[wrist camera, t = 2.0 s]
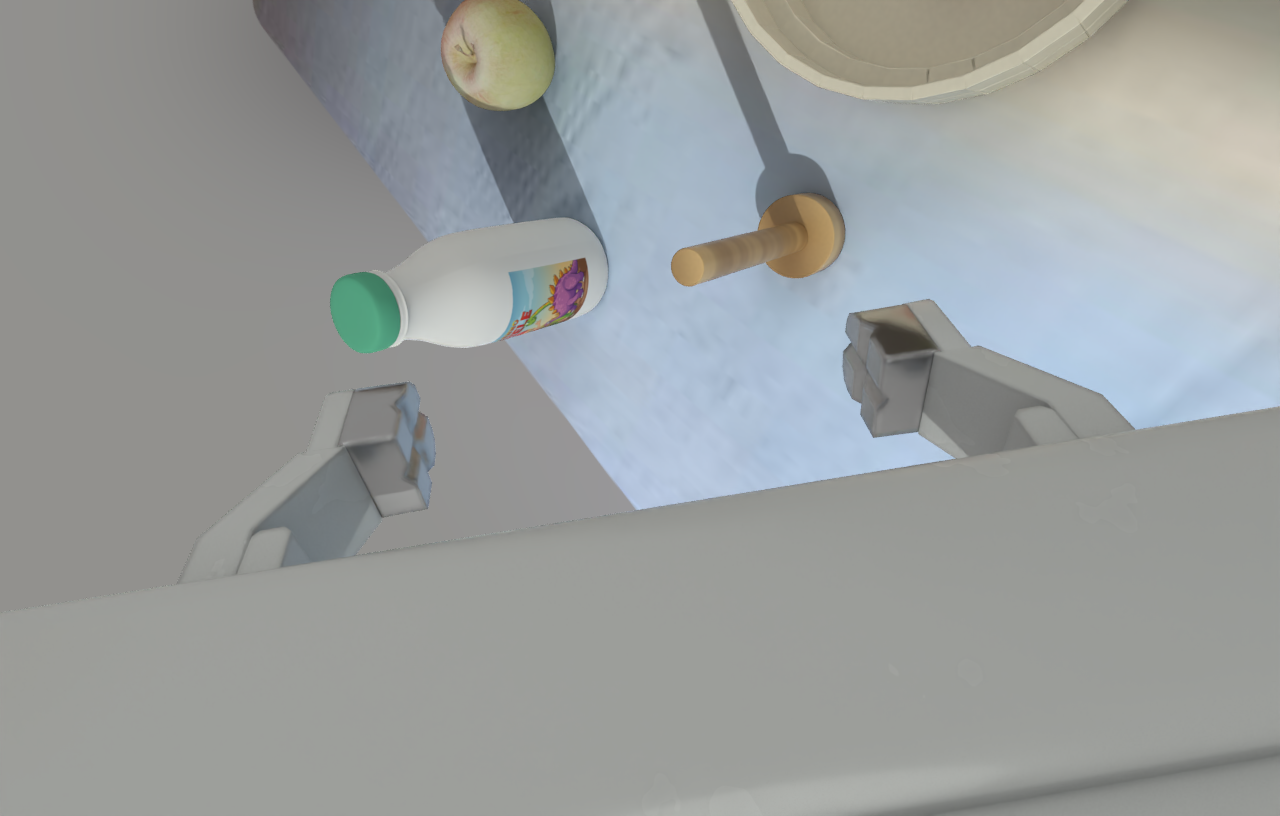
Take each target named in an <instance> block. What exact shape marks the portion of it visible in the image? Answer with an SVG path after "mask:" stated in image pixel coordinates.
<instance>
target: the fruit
mask: <svg viewBox="0 0 1280 816" xmlns="http://www.w3.org/2000/svg"><path fill="white" fill-rule="evenodd" d="M441 57H442V62H443V66H444V69H445V72H446V74H447V76H448V78H449V80H450V82H451V83H452V85H453V86H454V87H455V89H456V90H457V91H458V92H459V93H460V94H461V95H462V96H463V97H464V98H465V99H466V100H468V101H469V102H471V103H472V104H474V105H475V106H478V107H481V108H484V109H488V110H494V111H509V110H516V109H519V108H523V107H526V106H528V105H530V104H531V103H533V102H535V101H536V100H537V99H539V98H540V97H541V96H542V95H543V94H544V93H545V91H546V90H547V88H548V87H549V85H550V83H551V81H552V78H553V75H554V70H555V57H554V51H553V47H552V43H551V39H550V37H549V34H548V32H547V30H546V28H545V26H544V25H543V23H542V22H541V20H540V19H539V18H538V17H537V15H536V14H535V13H534V12H533V11H532V10H531V9H530V8H529V7H528V6H526V5H525V4H524V3H522V2H521V1H519V0H465V1H464V2H462V3H461V4H460V5H459V6H458V7H457V9H456V10H455V11H454V13H453V14H452V15H451V17H450V19H449V20H448V22H447V25H446V27H445V29H444V32H443V35H442V40H441Z"/></svg>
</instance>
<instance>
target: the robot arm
mask: <svg viewBox="0 0 1280 816" xmlns="http://www.w3.org/2000/svg"><path fill="white" fill-rule="evenodd" d="M845 332H846V334H847V336H848V338H849V339H850V341H851V343H850V344H849V345H848V347H847V348H846V349H845V350H844V351H843V374H844V381H845V384H846V387H847V390H848V392H849V394H850V396H851V398H852V399H853V400H855V401H857V402H859V403H861V413H860V415H861V416H862V418H863V420H864V422H865V424H866V426H867V427H868V429H869V431H870V433H871V435H872V436H873V438H875V437H883V436H890V435H898V434H905V433H913V432H918V434H919V435H921V436H922V437H924V438H925V439H927V440H928V441H930V442H931V443H933V444H935V445H936V446H938V447H939V448H941V449H942V450H944V451H945V452H947V453H948V454H950V455H951V456H953V457H954V458H956V459H951V460H945V461H939V462H932V463H926V464H920V465H914V466H908V467H901V468H895V469H889V470H883V471H877V472H870V473H864V474H858V475H852V476H846V477H839V478H833V479H827V480H821V481H815V482H808V483H802V484H796V485H790V486H784V487H777V488H771V489H765V490H759V491H753V492H746V493H740V494H734V495H728V496H722V497H715V498H709V499H703V500H697V501H691V502H684V503H678V504H672V505H666V506H659V507H653V508H647V509H641V510H635V511H629V512H622V513H616V514H610V515H604V516H597V517H591V518H585V519H579V520H572V521H566V522H560V523H554V524H548V525H541V526H535V527H529V528H523V529H517V530H510V531H504V532H499V533H492V534H485V535H479V536H473V537H467V538H461V539H454V540H448V541H442V542H436V543H429V544H423V545H418V546H411V547H405V548H399V549H392V550H386V551H380V552H374V553H367V554H362V555H356V554H357V552H358V551H359V550H360V548H361V547H362V546H363V545H364V543H365V542H366V541H367V539H368V538H369V537H370V535H371V534H372V533H373V532H374V530H375V529H376V528H377V527H378V525H379V524H380V523H381V521H382V517H388V516H393V515H399V514H403V513H409V512H415V511H420V510H425V509H428V506H429V499H430V492H431V484H432V482H431V479H430V477H429V474H428V471H429V470H430V469H431V468H432V467H433V466H434V463H435V454H436V453H435V439H434V435H433V431H432V427H431V425H430V422H429V419H428V417H427V416H425V415H424V414H422V413H421V412H419V404H420V397H419V394H418V392H417V390H416V388H415V385H414V384H412V383H411V382H403V383H396V384H388V385H381V386H374V387H366V388H359V389H352V390H345V391H339V392H333V393H329V394H328V395H327V396H326V397H325V398H324V401H323V404H322V407H321V410H320V413H319V416H318V419H317V421H316V424H315V428H314V430H313V433H312V436H311V439H310V442H309V445H308V448H307V451H306V452H303V453H298V454H297V455H295V456H294V457H293V458H292V459H291V460H290V461H288V462H287V463H286V464H285V465H284V466H282V467H281V468H280V469H279V470H278V471H276V472H275V473H274V474H273V475H272V476H271V477H269V478H268V479H267V480H266V481H265V482H263V483H262V484H261V485H260V486H259V487H257V488H256V489H255V490H254V491H253V492H252V493H250V494H249V495H248V496H247V497H246V498H245V499H243V500H242V501H241V502H240V503H238V504H237V505H236V506H235V507H234V508H233V509H231V510H230V511H229V512H228V513H227V514H225V515H224V516H223V517H222V518H221V519H220V520H218V521H217V522H216V523H215V524H213V525H212V526H211V527H210V528H209V529H208V530H206V531H205V532H204V533H203V534H202V535H200V536H199V537H198V538H197V539H196V541H195V544H194V546H193V548H192V550H191V553H190V556H189V557H188V559H187V562H186V564H185V566H184V568H183V570H182V573H181V575H180V577H179V579H178V582H177V584H176V585H169V586H162V587H156V588H151V589H144V590H138V591H132V592H125V593H119V594H113V595H107V596H101V597H95V598H88V599H82V600H76V601H69V602H63V603H57V604H51V605H45V606H38V607H33V608H26V609H20V610H14V611H8V612H1V613H0V816H1280V406H1279V407H1273V408H1267V409H1261V410H1255V411H1249V412H1242V413H1236V414H1230V415H1224V416H1218V417H1212V418H1206V419H1200V420H1193V421H1187V422H1181V423H1175V424H1169V425H1162V426H1156V427H1150V428H1144V429H1138V430H1135V428H1134V427H1133V426H1132V425H1131V424H1130V423H1129V422H1128V421H1127V420H1126V419H1125V418H1124V417H1123V416H1122V415H1121V414H1120V413H1119V412H1118V411H1117V410H1116V409H1115V408H1114V406H1113V405H1112V404H1111V403H1110V402H1109V401H1108V400H1107V399H1106V398H1105V397H1104V396H1103V395H1102V394H1100V393H1097V392H1094V391H1092V390H1089V389H1087V388H1084V387H1082V386H1079V385H1077V384H1074V383H1072V382H1069V381H1067V380H1064V379H1062V378H1059V377H1057V376H1054V375H1052V374H1049V373H1047V372H1044V371H1042V370H1039V369H1037V368H1034V367H1031V366H1029V365H1026V364H1024V363H1021V362H1019V361H1016V360H1014V359H1011V358H1009V357H1006V356H1004V355H1001V354H999V353H996V352H994V351H991V350H989V349H986V348H984V347H981V346H974V347H971V346H970V345H969V343H968V342H967V341H966V340H965V338H964V337H963V336H962V335H961V334H960V332H959V331H958V330H957V329H956V328H955V326H954V325H953V324H952V323H951V321H950V320H949V319H948V318H947V317H946V315H945V314H944V313H943V312H942V310H941V309H940V308H939V307H938V306H937V304H936V303H935V302H934V301H932V300H930V299H926V300H921V301H915V302H910V303H905V304H902V305H897V306H891V307H885V308H879V309H873V310H867V311H861V312H855V313H849V316H848V318H847V322H846V331H845Z"/></svg>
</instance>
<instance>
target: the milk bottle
mask: <svg viewBox="0 0 1280 816" xmlns="http://www.w3.org/2000/svg"><path fill="white" fill-rule="evenodd" d="M607 281H608V264H607V258H606V255H605V252H604V249H603V247H602V245H601V243H600V241H599V239H598V238H597V237H596V235H595V234H594V233H593V232H592V231H591V230H590V229H589V228H588V227H587V226H585V225H583V224H582V223H580V222H579V221H577V220H574V219H571V218H564V217H561V218H550V219H543V220H535V221H528V222H520V223H513V224H506V225H499V226H492V227H485V228H478V229H472V230H466V231H461V232H456V233H451V234H448V235H445V236H441V237H438V238H436V239H434V240H432V241H430V242H428V243H426V244H425V245H423V246H422V247H420V248H419V249H417V250H416V251H415V252H414V253H413V254H411V255H410V256H409V257H408V258H407V259H406V260H405V261H403V262H402V263H401V264H399V265H398V266H396V267H394V268H393V269H391V270H389V271H387V272H382V271H379V270H371V271H369V272H360V273H353V274H349V275H346V276H343V277H341V278H340V279H338V280H337V281H336V283H335V284H334V286H333V289H332V292H331V298H330V308H331V314H332V318H333V322H334V324H335V327H336V329H337V331H338V333H339V334H340V336H341V338H342V339H343V340H344V342H345V343H346V344H347V345H348V346H349V347H350V348H352V349H353V350H355V351H357V352H360V353H372V352H377V351H380V350H383V349H386V348H388V347H394V346H397V345H399V344H400V343H401V342H402V341H403V340H421V341H426V342H430V343H434V344H438V345H442V346H447V347H459V348H461V347H463V348H464V347H475V346H481V345H485V344H489V343H493V342H497V341H501V340H504V339H508V338H511V337H515V336H518V335H521V334H525V333H528V332H531V331H535V330H538V329H541V328H544V327H548V326H551V325H554V324H557V323H560V322H564V321H567V320H570V319H573V318H576V317H579V316H582V315H584V314H586V313H588V312H590V311H591V310H592V309H594V308H595V307H596V305H597V304H598V303H599V302H600V300H601V298H602V296H603V295H604V292H605V289H606V287H607Z"/></svg>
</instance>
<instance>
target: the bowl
mask: <svg viewBox="0 0 1280 816" xmlns="http://www.w3.org/2000/svg"><path fill="white" fill-rule="evenodd" d="M731 1H732V2H733V4H734V6H735V8H736V9H737V11H738V13H739V15H740V16H741V18H742V20H743V22H744V23H745V25H746V27H747V28H748V30H749V32H750V33H751V35H752V36H753V37H754V38H755V39H756V40H757V41H758V42H759V43H760V44H761V45H762V46H763V47H764V48H765V49H766V50H767V51H768V52H769V53H770V54H771V55H772V56H773V57H774V58H775V59H776V60H777V61H778V63H779V64H781V65H782V66H784V67H785V68H787V69H789V70H790V71H792V72H794V73H795V74H797V75H799V76H800V77H802V78H804V79H805V80H807V81H809V82H810V83H812V84H814V85H815V86H817V87H820V88H823V89H827V90H830V91H834V92H837V93H841V94H845V95H848V96H852V97H855V98H859V99H864V100H872V101H880V102H888V103H900V104H943V103H948V102H953V101H957V100H962V99H967V98H972V97H977V96H982V95H986V94H987V93H992V92H994V91H996V90H999V89H1001V88H1003V87H1006V86H1008V85H1010V84H1012V83H1015V82H1017V81H1019V80H1022V79H1024V78H1026V77H1029V76H1031V75H1033V74H1036V73H1037V72H1038V71H1041V70H1043V69H1044V68H1046V67H1047V66H1049V65H1050V64H1052V63H1053V62H1055V61H1056V60H1058V59H1059V58H1061V57H1062V56H1063V55H1065V54H1066V53H1068V52H1069V51H1071V50H1072V49H1074V48H1075V47H1077V46H1078V45H1080V44H1081V43H1083V42H1084V41H1086V40H1087V39H1088V38H1089V37H1091V36H1092V35H1093V34H1094V33H1095V32H1096V31H1097V30H1099V29H1100V28H1101V27H1102V26H1103V25H1104V24H1105V23H1106V22H1107V21H1108V20H1109V19H1110V18H1111V17H1112V16H1113V15H1114V14H1115V13H1116V12H1117V11H1118V10H1119V9H1120V8H1121V7H1122V6H1123V5H1124V4H1125V3H1127V2H1128V1H1129V0H731Z"/></svg>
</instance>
